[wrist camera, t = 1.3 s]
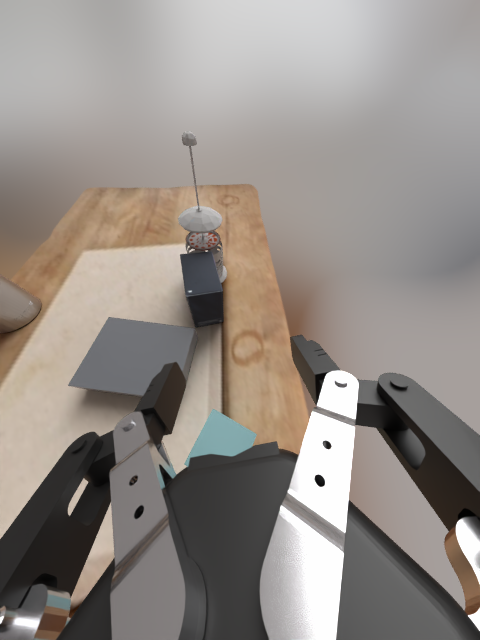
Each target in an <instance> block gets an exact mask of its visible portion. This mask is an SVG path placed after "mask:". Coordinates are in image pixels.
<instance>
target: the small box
mask: <svg viewBox="0 0 480 640" xmlns="http://www.w3.org/2000/svg"><path fill="white" fill-rule="evenodd" d="M180 258H181V265H182V273H183V280H184V288H185V295H186V298H187V302H188V305H189V308H190V311H191V313H192V317H193V320H194V324H195V327H201V326H205V325H211V324H217V323H221V322H223V289H222V286H221V282H220V279H219V275H218V272H217V268H216V265H215V261H214V257H213V254H212V251H209V252H200V253H190V254H180Z"/></svg>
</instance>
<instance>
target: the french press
mask: <svg viewBox="0 0 480 640" xmlns="http://www.w3.org/2000/svg"><path fill="white" fill-rule="evenodd" d="M182 141H183V144H184V145H186V146H189V148H190V155H191V161H192V169H193V175H194V183H195V190H196V197H197V203H198V206H195V207H192V208H189V209H186V210H185V211H184V212H183V213H181V214H180V216H179V218H178V220H179V224H180V225H181V226H182V227H183V228H184V229H185V230H187V231H190V233H189V234H188V235H187V237H186V250H187V247H188V245H189V246H190V248H188V251H187V254H190V253H200V252H205V250H208V252H209V251H212V254H213V257H214V261H215V265H216V268H217V272H218V275H219V279H220V282H221V283H222V282H223V281H224V280H225V278H226V275H227V271H226V268H225V267H224V266H223V263H222V262H223V252H222V250H223V249H222V247H220V246H217V245H218V244H220V245H221V246H222V243H221V241H220V236H219V234H218V233H216V232H215V231H214V230H216V229H217V228H218V227H220V225H221V222H222V217H221V215H220V214H219V213H218V212H216V211H215V210H213V209H211V208H209V207H204V206H199V202H198V194H197V187H196V180H195V173H194V165H193V158H192V151H191V146H194V145H196V144H197V143H196V138H195V135H194V134H193V133H192V132H189V131H187V132H184V133H183V135H182ZM217 248H218V249H220V251H218V250H217ZM191 249H195V250H194V251H192V252H190V253H189V251H190V250H191ZM221 256H222V257H221ZM220 258H221V260H220Z"/></svg>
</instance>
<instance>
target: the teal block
mask: <svg viewBox="0 0 480 640" xmlns="http://www.w3.org/2000/svg"><path fill="white" fill-rule="evenodd" d="M256 435H257V434H255V433H254V432H252V431H250V430H249V429H247V428H245V427H244V426H242V425H240V424H238V423H237V422H235V421H233V420H232V419H230V418H228V417H226V416H225V415H223V414H221V413H220V412H218V411H216V410H215V409H213V410H212V412H211V414H210V415H209V417H208V419H207V421H206V423H205V425H204V427H203V429H202V431H201V433H200V435H199V437H198V439H197V441H196V442H195V444H194V446H193V448H192V450H191V452H190V454H189V456H188V458H187V460H186V462H185V465H186V466H187V467H188V466H189V461H190V458H191V457H196V456H201V455H207V454H217V455H224V456H235V455H237V454H239V453H241V452H243V451H245V450H247V449H249V448H251V447H252V445H253V443H254V440H255V437H256Z"/></svg>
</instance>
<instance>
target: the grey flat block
mask: <svg viewBox="0 0 480 640" xmlns="http://www.w3.org/2000/svg"><path fill="white" fill-rule="evenodd" d="M197 340H198V335H197V333H196V330H195V328H189V327H181V326H174V325H166V324H158V323H150V322H143V321H135V320H127V319H120V318H112V317H109V318H108V319H107V321H106V323H105V324H104V326H103V328H102V329H101V331H100V333H99V334H98V336H97V338H96V339H95V341H94V343H93V344H92V346H91V348H90V350H89V351H88V353H87V355H86V356H85V358H84V360H83V361H82V363H81V365H80V366H79V368H78V370H77V371H76V373H75V375H74V376H73V378H72V380H71V381H70V383H69V385H68V386H73V387H77V388H82V389H87V390H94V391H102V392H109V393H117V394H124V395H132V396H139V397H143V395H144V393H145V392H146V390H147V388H148V387H149V384H150V383H151V381H152V379H153V378H154V377H155V376H156V375H157V374H158V373H160V372H161V370H162V368H163V366H164V365H165V364H168V363H172V362H177V363H178V364H179V366H180V368H181V370H182V373H183V375H184V377H185V379H186V382H187V378H188V374H189V370H190V367H191V363H192V359H193V355H194V351H195V348H196V344H197Z"/></svg>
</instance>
